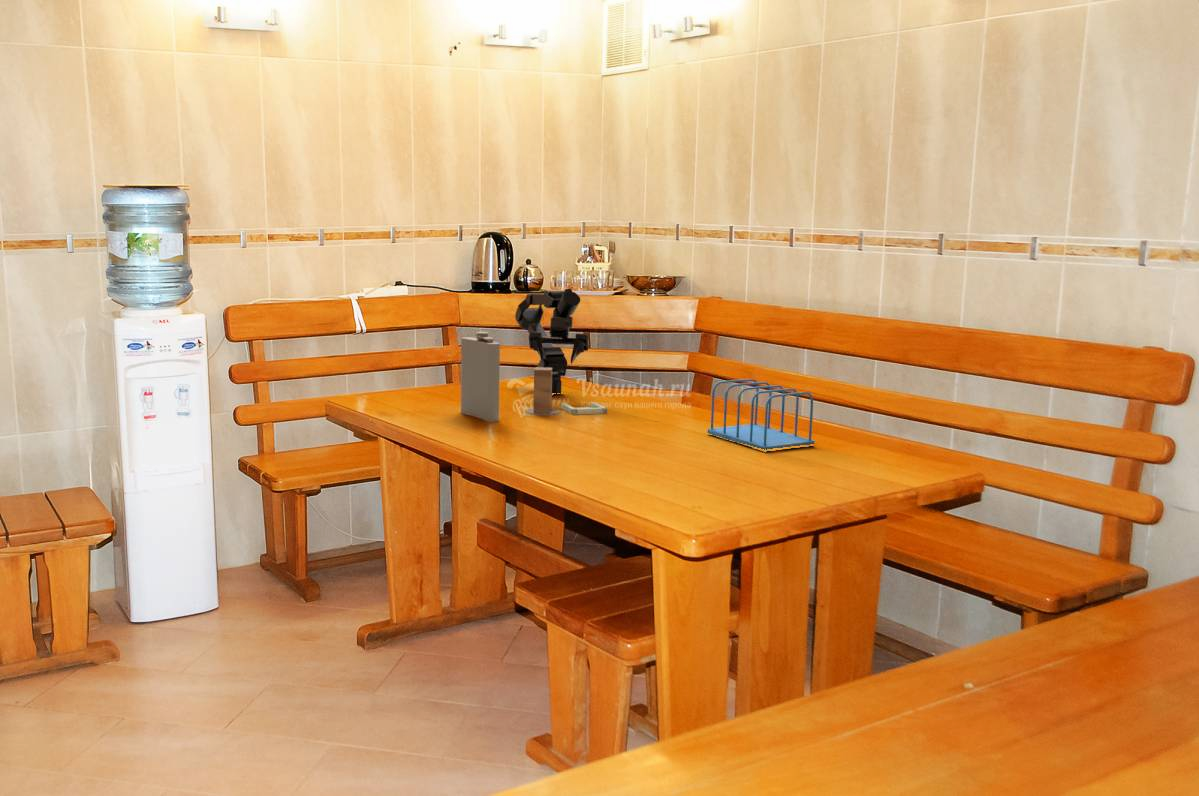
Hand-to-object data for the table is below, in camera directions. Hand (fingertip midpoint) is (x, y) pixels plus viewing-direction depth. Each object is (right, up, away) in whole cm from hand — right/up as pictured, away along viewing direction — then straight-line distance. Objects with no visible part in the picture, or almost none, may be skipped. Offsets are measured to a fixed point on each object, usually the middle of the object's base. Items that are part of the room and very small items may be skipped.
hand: (556, 362), depth 347 cm
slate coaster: (-4, -16, -13) cm, 21 cm away
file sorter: (+57, -23, -44) cm, 76 cm away
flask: (-21, -17, -21) cm, 34 cm away
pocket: (+9, -15, -9) cm, 20 cm away
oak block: (-4, -15, -13) cm, 21 cm away
